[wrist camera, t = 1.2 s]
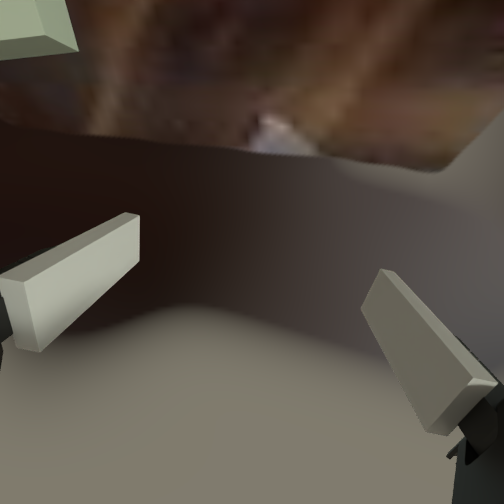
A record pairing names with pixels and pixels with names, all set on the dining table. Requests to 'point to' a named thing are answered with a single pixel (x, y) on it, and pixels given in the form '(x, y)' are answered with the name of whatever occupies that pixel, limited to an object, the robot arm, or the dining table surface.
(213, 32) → the dining table surface
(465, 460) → the robot arm
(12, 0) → the green block
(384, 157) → the dining table surface
